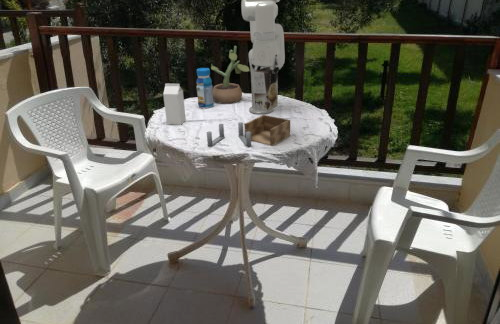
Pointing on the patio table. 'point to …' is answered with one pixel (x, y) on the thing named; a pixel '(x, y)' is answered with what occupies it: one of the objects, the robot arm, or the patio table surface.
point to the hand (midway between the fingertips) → (266, 81)
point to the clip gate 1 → (221, 133)
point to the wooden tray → (268, 129)
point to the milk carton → (174, 104)
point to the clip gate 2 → (248, 135)
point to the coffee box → (265, 90)
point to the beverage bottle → (204, 88)
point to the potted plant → (228, 90)
